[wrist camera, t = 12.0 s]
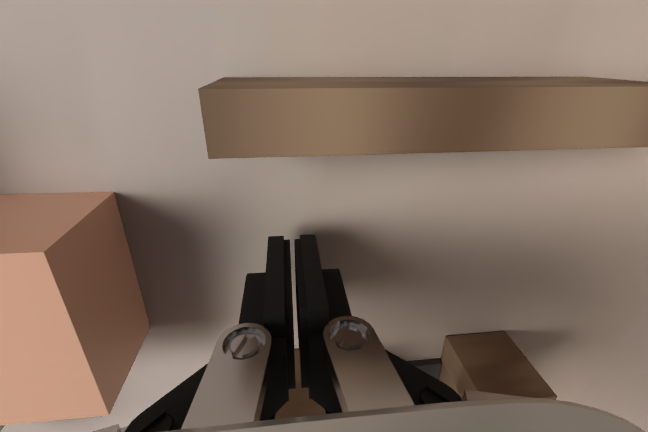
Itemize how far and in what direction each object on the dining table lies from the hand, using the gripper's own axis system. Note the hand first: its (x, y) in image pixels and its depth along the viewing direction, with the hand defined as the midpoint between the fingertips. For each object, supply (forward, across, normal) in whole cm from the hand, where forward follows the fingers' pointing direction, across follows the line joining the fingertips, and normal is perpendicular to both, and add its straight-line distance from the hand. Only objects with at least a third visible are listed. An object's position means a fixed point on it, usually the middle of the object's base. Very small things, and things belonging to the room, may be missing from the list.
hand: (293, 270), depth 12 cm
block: (+1, +9, 0) cm, 9 cm away
